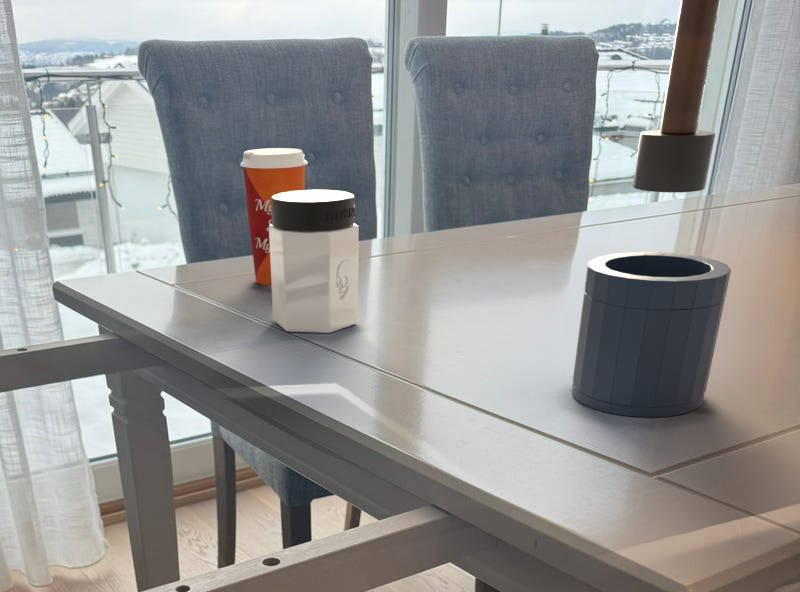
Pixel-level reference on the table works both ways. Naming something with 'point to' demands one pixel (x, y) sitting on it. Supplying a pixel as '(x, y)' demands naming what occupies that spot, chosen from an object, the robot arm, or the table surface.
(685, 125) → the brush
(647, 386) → the stoneware jar
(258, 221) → the paper cup
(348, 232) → the jar
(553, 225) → the table surface
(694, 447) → the table surface
